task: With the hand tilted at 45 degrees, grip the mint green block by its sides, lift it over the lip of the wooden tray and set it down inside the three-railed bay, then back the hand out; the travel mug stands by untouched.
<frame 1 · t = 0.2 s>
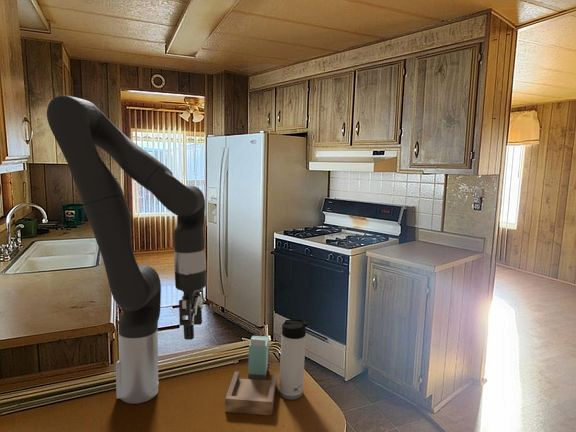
hand: (193, 331, 99), 18 cm above the counter, tool pointing down, fingers open, 8 cm apart
mint green block: (258, 373, 114), on the counter
travel mug: (291, 393, 105), on the counter
wooden tray: (252, 396, 103), on the counter
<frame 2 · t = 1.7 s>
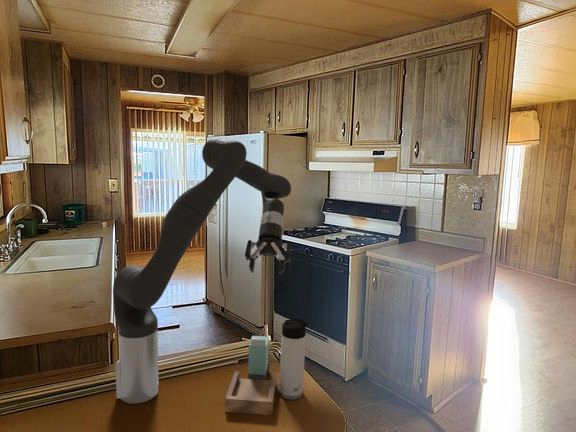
hand: (266, 272, 121), 27 cm above the counter, tool tilted 45°, fingers open, 8 cm apart
nothing on the counter moved.
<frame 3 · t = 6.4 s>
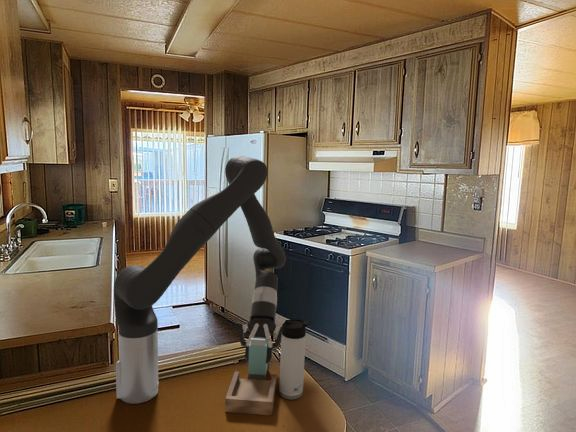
hand: (257, 361, 111), 5 cm above the counter, tool tilted 45°, fingers closed on mint green block, 4 cm apart
mint green block: (258, 373, 114), on the counter, touching gripper
everything else where it was.
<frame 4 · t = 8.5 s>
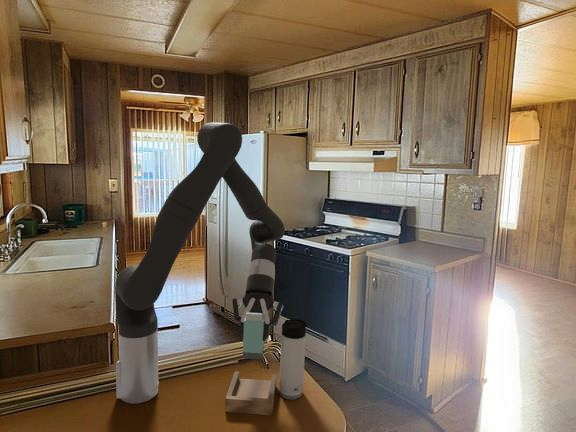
hand: (253, 339, 101), 16 cm above the counter, tool tilted 45°, fingers closed on mint green block, 4 cm apart
mint green block: (253, 352, 103), point 11 cm above the counter, touching gripper
everything else where it was.
when the fingers open (7 cm above the counter, at t = 10.8 s): mint green block drops 1 cm, resting on wooden tray.
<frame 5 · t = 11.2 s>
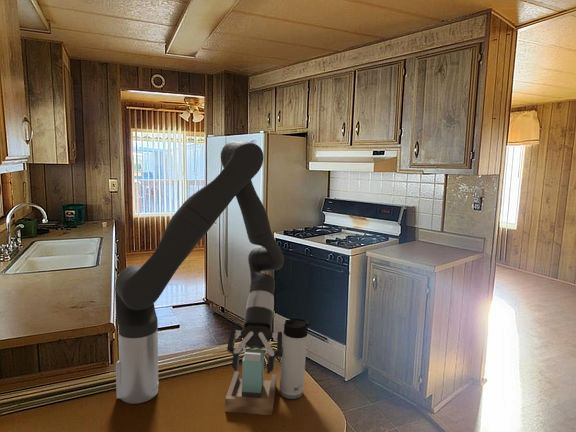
hand: (252, 371, 100), 8 cm above the counter, tool tilted 45°, fingers open, 8 cm apart
mint green block: (252, 391, 103), point 1 cm above the counter, touching wooden tray
travel mug: (291, 393, 105), on the counter, touching hand
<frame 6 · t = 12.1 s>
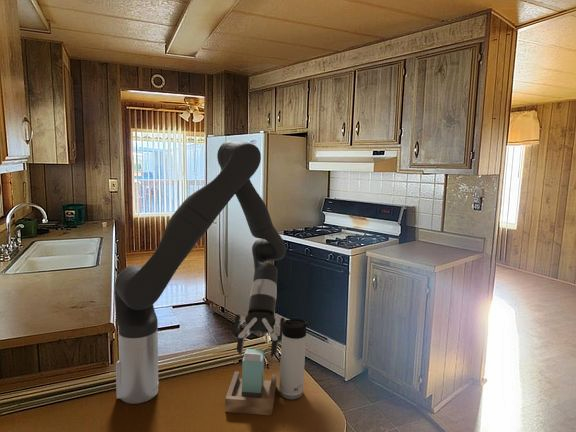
hand: (256, 355, 105), 9 cm above the counter, tool tilted 45°, fingers open, 8 cm apart
travel mug: (291, 393, 106), on the counter
everything else where it was.
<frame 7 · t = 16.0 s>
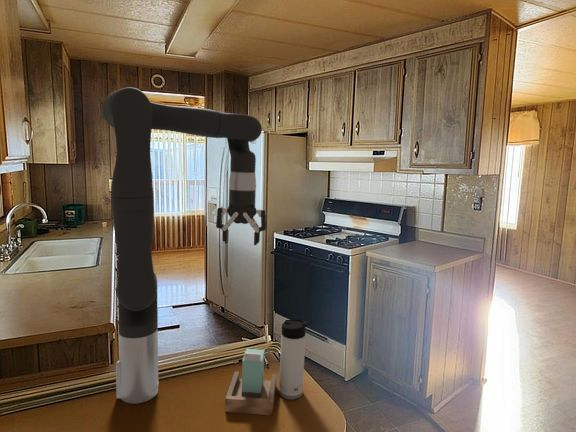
hand: (241, 243, 115), 36 cm above the counter, tool pointing down, fingers open, 8 cm apart
nothing on the counter moved.
at the end: mint green block inside the target area on the wooden tray (0.2 cm from its centre), point 1.5 cm above the wooden tray's base; mint green block tilted 0°; the gripper is holding nothing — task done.
